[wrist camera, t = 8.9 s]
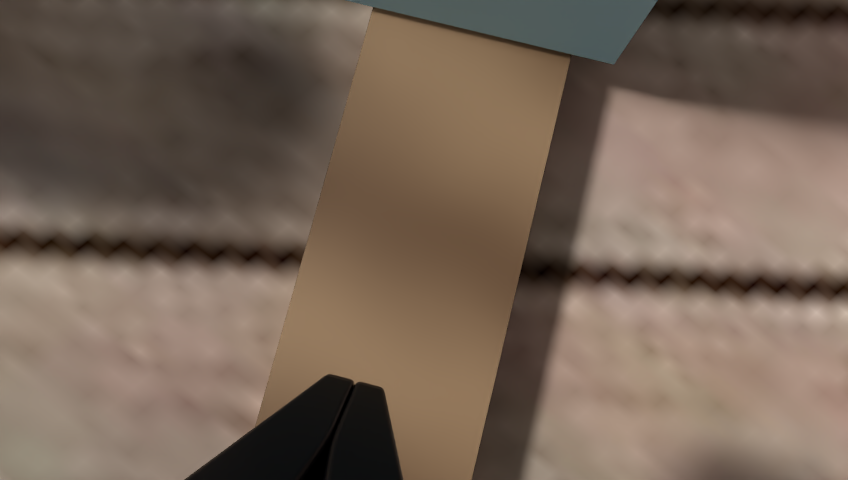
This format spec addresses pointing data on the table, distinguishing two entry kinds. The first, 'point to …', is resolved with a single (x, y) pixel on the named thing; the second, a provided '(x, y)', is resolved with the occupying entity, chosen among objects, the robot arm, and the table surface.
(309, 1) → the table surface
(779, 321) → the table surface
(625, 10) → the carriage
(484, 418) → the rail
